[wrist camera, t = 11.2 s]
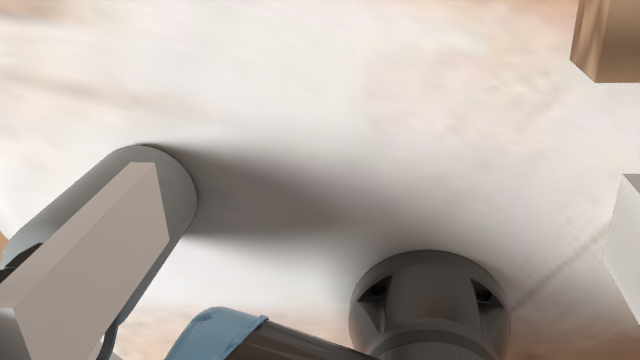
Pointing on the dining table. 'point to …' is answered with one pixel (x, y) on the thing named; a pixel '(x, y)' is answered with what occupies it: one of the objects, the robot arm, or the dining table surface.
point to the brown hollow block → (608, 40)
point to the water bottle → (171, 179)
